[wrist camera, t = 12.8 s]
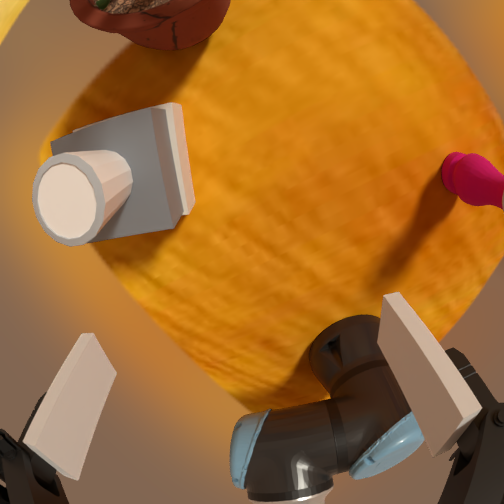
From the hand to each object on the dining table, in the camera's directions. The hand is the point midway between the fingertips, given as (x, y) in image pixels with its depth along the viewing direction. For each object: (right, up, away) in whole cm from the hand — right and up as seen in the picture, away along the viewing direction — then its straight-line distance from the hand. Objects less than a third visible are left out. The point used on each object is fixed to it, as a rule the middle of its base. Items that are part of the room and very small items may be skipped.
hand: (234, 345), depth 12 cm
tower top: (-13, +12, +15) cm, 24 cm away
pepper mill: (+31, +16, +21) cm, 41 cm away
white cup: (-12, +10, +11) cm, 20 cm away
